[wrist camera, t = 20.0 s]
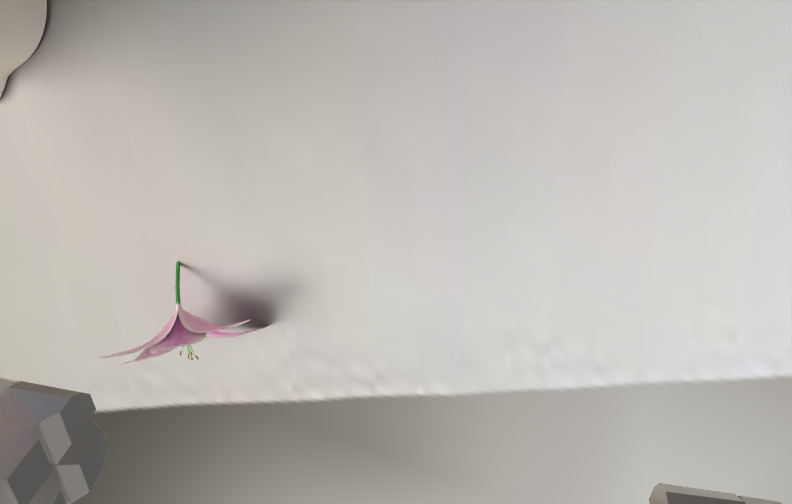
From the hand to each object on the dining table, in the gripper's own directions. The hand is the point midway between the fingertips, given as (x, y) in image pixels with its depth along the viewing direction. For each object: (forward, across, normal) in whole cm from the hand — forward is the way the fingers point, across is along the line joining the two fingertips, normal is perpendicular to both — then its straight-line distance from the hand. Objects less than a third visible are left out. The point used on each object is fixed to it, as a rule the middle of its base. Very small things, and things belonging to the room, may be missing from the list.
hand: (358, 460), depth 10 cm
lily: (+34, +21, +28) cm, 49 cm away
